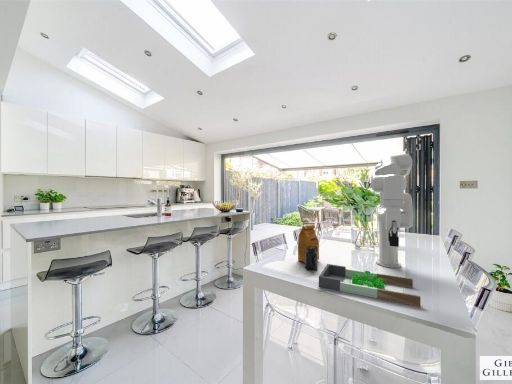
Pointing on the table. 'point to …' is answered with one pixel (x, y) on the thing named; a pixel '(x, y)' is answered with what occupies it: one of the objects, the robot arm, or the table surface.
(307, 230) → the coffee package
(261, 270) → the table surface
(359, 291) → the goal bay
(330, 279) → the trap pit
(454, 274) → the table surface
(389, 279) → the walnut channel
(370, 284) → the green bumpy clump
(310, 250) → the supplement bottle
